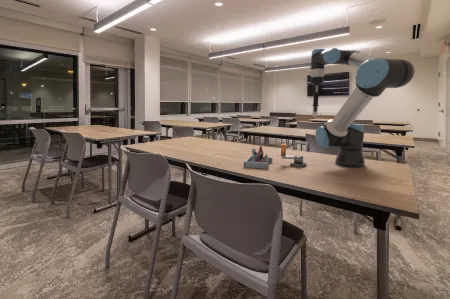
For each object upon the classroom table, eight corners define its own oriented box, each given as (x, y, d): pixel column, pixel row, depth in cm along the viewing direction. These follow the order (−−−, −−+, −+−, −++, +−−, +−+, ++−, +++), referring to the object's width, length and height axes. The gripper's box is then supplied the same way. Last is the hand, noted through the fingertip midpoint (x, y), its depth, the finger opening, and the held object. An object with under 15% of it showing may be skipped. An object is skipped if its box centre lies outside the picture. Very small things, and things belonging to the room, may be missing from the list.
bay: (272, 162, 151) (272, 157, 150) (268, 168, 136) (268, 163, 135) (250, 160, 155) (250, 156, 154) (244, 167, 140) (244, 161, 139)
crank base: (306, 163, 147) (306, 161, 147) (306, 167, 138) (306, 165, 138) (290, 162, 150) (290, 160, 149) (289, 166, 141) (289, 164, 141)
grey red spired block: (269, 163, 138) (257, 145, 140) (253, 173, 143) (241, 155, 144) (274, 159, 149) (262, 142, 150) (259, 168, 153) (248, 152, 154)
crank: (302, 162, 146) (303, 144, 144) (303, 164, 141) (304, 145, 139) (280, 161, 149) (281, 143, 147) (280, 163, 144) (280, 145, 142)
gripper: (310, 78, 157) (308, 116, 161) (310, 76, 145) (308, 117, 149) (323, 77, 155) (320, 116, 159) (324, 75, 143) (322, 117, 147)
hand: (314, 117), depth 154 cm, fingers closed
